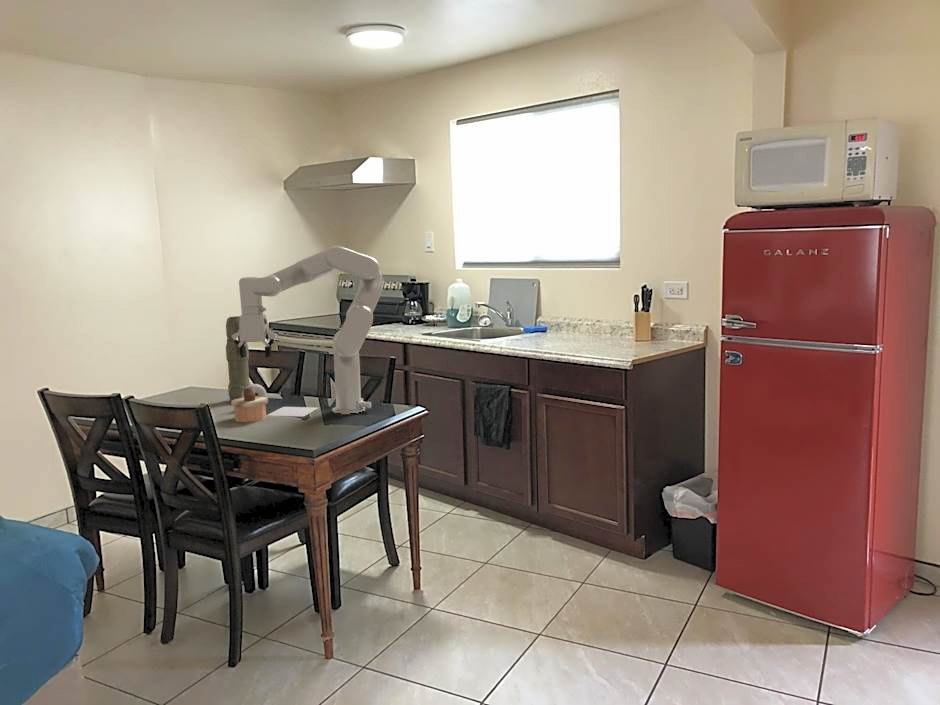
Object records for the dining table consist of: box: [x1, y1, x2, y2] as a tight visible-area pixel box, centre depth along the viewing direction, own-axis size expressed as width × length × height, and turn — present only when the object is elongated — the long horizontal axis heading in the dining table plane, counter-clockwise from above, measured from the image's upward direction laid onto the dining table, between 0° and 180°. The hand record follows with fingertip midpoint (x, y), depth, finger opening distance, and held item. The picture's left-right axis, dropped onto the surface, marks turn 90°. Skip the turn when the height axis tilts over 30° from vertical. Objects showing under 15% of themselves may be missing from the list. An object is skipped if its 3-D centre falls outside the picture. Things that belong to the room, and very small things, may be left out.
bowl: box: [233, 404, 267, 423], centre depth 273 cm, size 11×11×6 cm
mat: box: [266, 406, 319, 418], centre depth 284 cm, size 15×15×1 cm
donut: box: [241, 383, 268, 398], centre depth 291 cm, size 10×4×10 cm, turn 125°
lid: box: [231, 387, 269, 408], centre depth 272 cm, size 13×13×6 cm
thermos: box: [225, 315, 252, 403], centre depth 304 cm, size 9×12×35 cm
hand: (256, 357), depth 273 cm, fingers open, 9 cm apart
